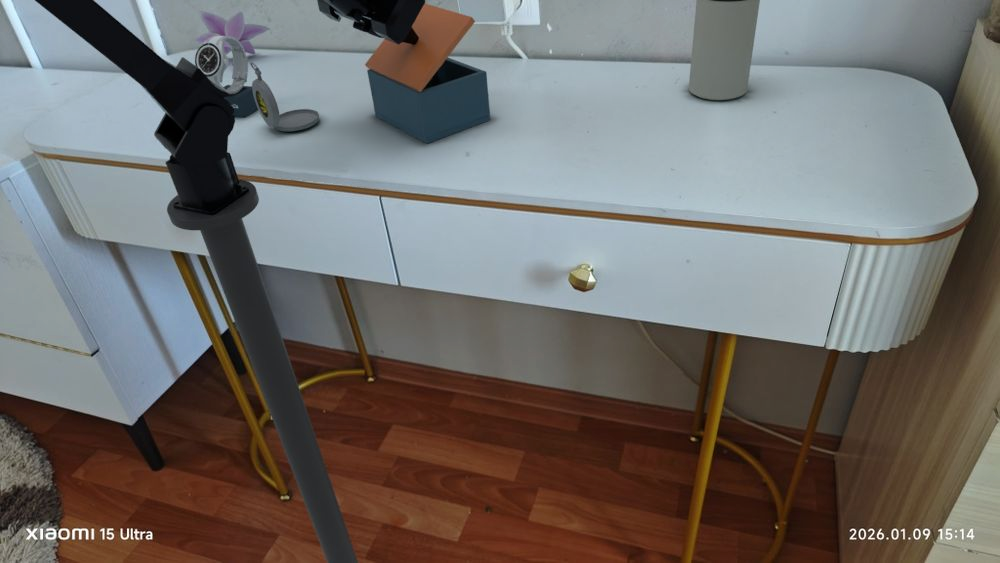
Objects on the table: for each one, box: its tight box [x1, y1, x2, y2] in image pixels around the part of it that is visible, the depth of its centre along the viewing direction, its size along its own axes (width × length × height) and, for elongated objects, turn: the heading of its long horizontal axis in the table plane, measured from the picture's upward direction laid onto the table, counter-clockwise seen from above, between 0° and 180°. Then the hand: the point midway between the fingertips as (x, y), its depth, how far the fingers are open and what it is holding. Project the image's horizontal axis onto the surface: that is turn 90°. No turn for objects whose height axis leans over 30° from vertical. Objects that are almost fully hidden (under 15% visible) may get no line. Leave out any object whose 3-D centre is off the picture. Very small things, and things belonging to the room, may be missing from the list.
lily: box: [192, 11, 271, 58], centre depth 123 cm, size 12×12×10 cm
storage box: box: [366, 56, 491, 144], centre depth 95 cm, size 11×14×7 cm
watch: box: [194, 36, 259, 118], centre depth 102 cm, size 6×8×11 cm
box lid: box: [364, 3, 476, 92], centre depth 91 cm, size 11×14×1 cm
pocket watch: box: [249, 61, 320, 132], centre depth 96 cm, size 8×8×10 cm
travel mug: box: [688, 0, 761, 101], centre depth 92 cm, size 8×8×18 cm
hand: (415, 41), depth 91 cm, fingers closed, pressing on box lid
